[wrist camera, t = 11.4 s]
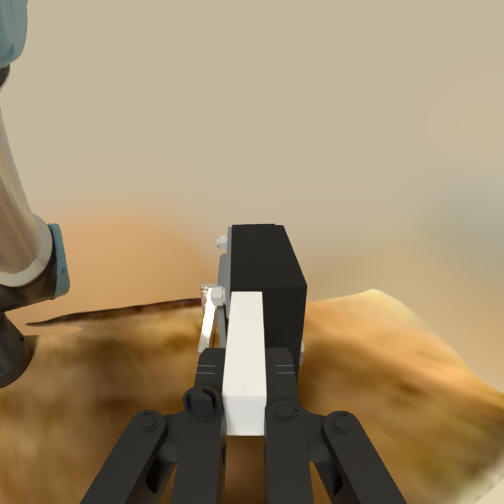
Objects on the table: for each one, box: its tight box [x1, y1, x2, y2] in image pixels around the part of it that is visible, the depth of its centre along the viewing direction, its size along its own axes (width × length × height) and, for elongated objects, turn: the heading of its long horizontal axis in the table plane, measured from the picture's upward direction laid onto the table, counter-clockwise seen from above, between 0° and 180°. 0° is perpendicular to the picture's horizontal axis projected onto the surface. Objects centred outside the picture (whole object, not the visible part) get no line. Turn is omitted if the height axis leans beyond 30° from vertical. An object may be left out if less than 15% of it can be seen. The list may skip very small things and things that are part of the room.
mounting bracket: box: [198, 283, 305, 365], centre depth 50 cm, size 17×12×10 cm
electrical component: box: [210, 224, 307, 385], centre depth 42 cm, size 18×10×20 cm, turn 3°
